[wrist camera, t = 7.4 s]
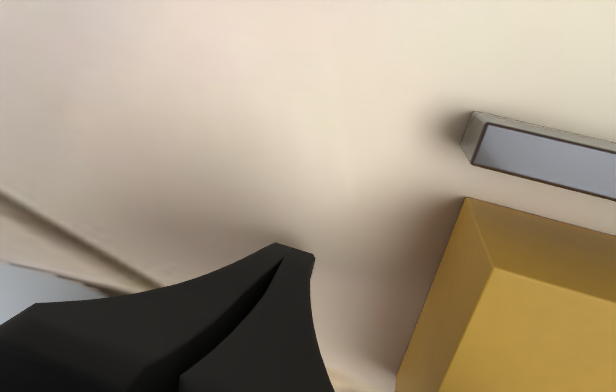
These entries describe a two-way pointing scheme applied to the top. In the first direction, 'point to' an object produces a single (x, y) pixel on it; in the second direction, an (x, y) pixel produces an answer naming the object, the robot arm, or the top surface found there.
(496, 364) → the block
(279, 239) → the top surface
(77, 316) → the robot arm
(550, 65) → the top surface
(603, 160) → the bay
